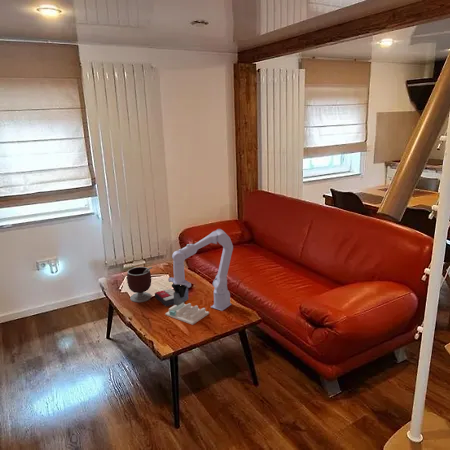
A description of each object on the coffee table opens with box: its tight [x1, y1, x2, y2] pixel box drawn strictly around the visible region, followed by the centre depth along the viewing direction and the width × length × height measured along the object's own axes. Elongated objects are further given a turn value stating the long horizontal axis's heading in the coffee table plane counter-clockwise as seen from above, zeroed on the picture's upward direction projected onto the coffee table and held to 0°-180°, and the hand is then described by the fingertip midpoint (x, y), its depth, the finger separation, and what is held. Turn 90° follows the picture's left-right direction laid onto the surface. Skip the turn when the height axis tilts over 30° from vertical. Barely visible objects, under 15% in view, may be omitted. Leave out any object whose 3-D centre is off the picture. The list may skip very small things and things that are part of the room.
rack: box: [164, 302, 210, 326], centre depth 210 cm, size 14×19×4 cm
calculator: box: [154, 288, 175, 308], centre depth 228 cm, size 11×4×15 cm
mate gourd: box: [126, 266, 153, 303], centre depth 228 cm, size 16×14×20 cm
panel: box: [173, 287, 189, 306], centre depth 211 cm, size 9×2×7 cm, turn 145°
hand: (180, 296), depth 210 cm, fingers closed on panel, 2 cm apart
